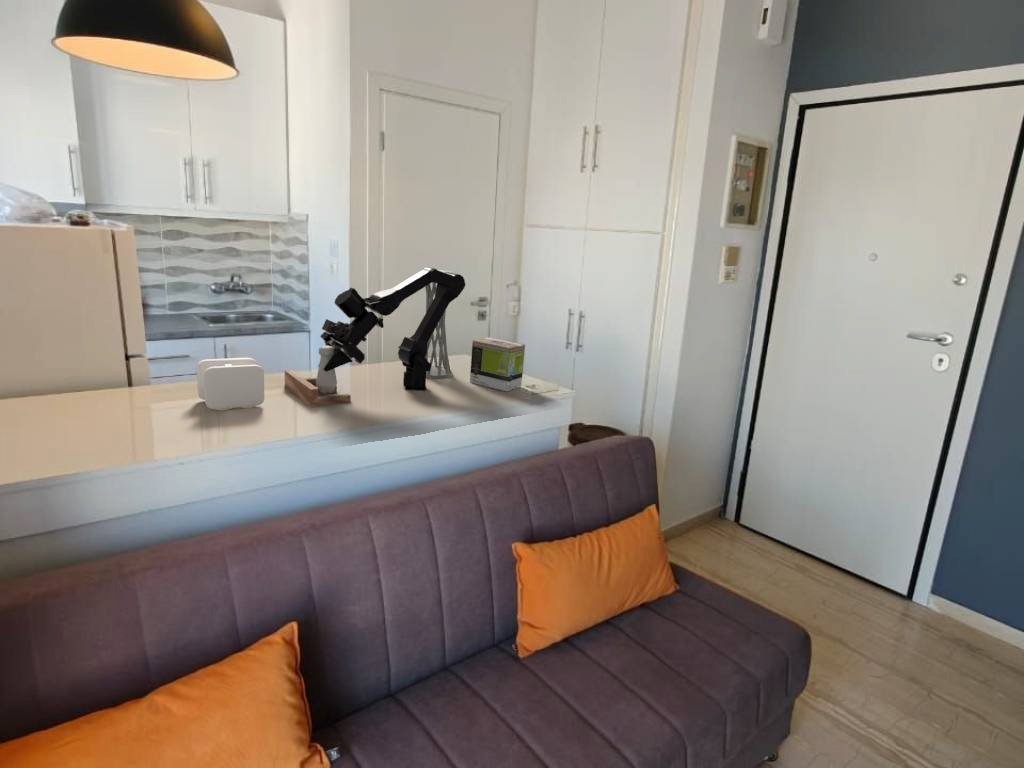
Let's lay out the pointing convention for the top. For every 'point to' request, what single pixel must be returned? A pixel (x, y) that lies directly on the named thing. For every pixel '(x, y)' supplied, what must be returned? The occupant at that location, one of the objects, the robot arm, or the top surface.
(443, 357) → the grey lattice tower
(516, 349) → the tea box
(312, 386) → the wooden letter e
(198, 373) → the cable organizer
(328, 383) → the salt shaker
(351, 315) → the robot arm
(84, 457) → the top surface
